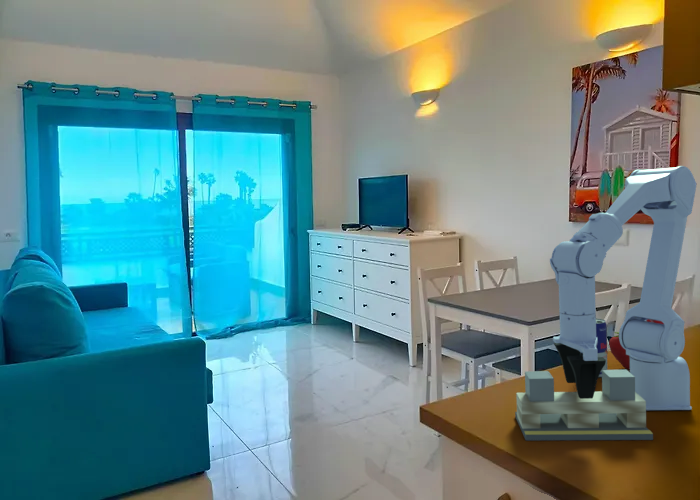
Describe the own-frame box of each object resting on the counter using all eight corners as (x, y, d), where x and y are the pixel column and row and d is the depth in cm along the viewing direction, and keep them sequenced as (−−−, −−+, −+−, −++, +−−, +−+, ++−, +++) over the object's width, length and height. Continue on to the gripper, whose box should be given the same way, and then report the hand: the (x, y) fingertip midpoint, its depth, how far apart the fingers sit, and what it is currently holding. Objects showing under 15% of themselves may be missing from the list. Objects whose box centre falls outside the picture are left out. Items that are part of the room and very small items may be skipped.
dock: (629, 415, 101) (629, 410, 101) (652, 439, 91) (652, 433, 91) (515, 417, 104) (515, 411, 104) (525, 440, 94) (525, 434, 94)
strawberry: (641, 375, 122) (641, 330, 121) (605, 369, 127) (604, 326, 126) (649, 368, 127) (648, 324, 126) (613, 363, 132) (612, 320, 131)
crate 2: (626, 391, 98) (626, 369, 98) (635, 400, 94) (634, 376, 94) (602, 392, 98) (601, 369, 98) (610, 400, 95) (609, 377, 94)
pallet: (634, 415, 99) (634, 390, 98) (646, 427, 94) (645, 401, 93) (517, 417, 101) (516, 392, 101) (522, 428, 96) (521, 402, 96)
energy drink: (610, 377, 122) (609, 323, 121) (583, 377, 123) (582, 323, 122) (604, 370, 127) (603, 317, 126) (578, 370, 128) (577, 318, 127)
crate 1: (548, 393, 100) (548, 371, 99) (554, 401, 96) (553, 378, 95) (525, 393, 100) (524, 371, 100) (530, 401, 96) (529, 378, 96)
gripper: (543, 304, 103) (545, 376, 105) (563, 322, 89) (566, 405, 90) (583, 303, 102) (585, 375, 104) (610, 320, 88) (612, 405, 89)
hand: (579, 389), depth 97 cm, fingers open, 7 cm apart
